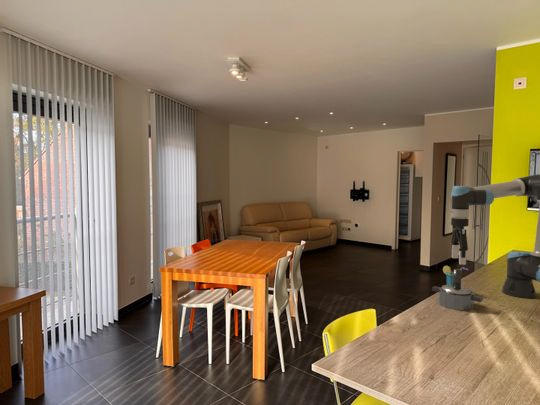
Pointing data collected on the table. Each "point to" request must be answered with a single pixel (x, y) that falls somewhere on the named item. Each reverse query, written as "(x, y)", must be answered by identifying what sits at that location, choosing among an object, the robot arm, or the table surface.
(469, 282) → the table surface
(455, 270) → the lid
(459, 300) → the pot
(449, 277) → the cup
